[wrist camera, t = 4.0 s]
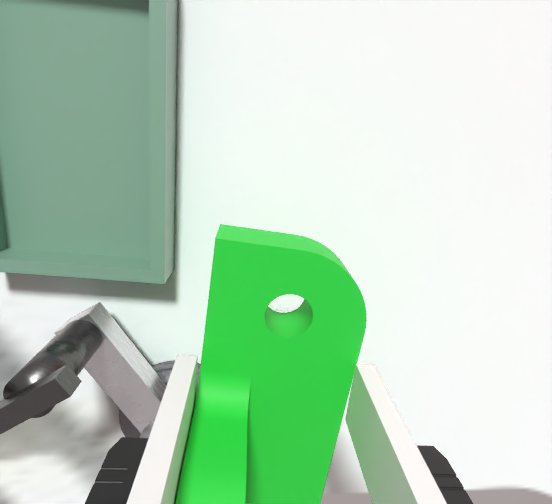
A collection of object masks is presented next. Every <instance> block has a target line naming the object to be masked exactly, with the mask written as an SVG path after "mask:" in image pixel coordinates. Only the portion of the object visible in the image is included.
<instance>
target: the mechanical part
mask: <svg viewBox="0 0 552 504" xmlns="http://www.w3.org/2000/svg"><path fill="white" fill-rule="evenodd" d="M285 294H295V295H299V296H301V297H303V298H304V302H303V303H302V305H301V306H300V307H299V308H298V309H296V310H294V311H292V312H289V313H279V312H276V311H273V310H272V309H270V308H269V307H268V305H269V303H270V302H271V301H272V300H274V299H275V298H277V297H279V296H281V295H285ZM365 328H366V309H365V303H364V300H363V297H362V294H361V292H360V290H359V288H358V286H357V284H356V283H355V281H354V280H353V278H352V277H351V275H350V274H349V272H348V271H347V269H346V268H345V266H344V265H343V263H342V262H341V261H340V259H339V258H338V257H337V256H336V255H335V254H334V253H333V252H332V251H331V250H330V249H328V248H327V247H326V246H324V245H322V244H321V243H319V242H317V241H315V240H312V239H310V238H307V237H303V236H298V235H292V234H285V233H278V232H271V231H264V230H257V229H250V228H243V227H236V226H229V225H221V224H220V227H219V230H218V233H217V236H216V239H215V248H214V257H213V265H212V274H211V282H210V291H209V299H208V308H207V316H206V325H205V334H204V342H203V351H202V359H201V368H200V376H199V383H198V390H197V396H196V402H195V408H194V413H193V418H192V423H191V428H190V433H189V438H188V443H187V447H186V452H185V457H184V462H183V467H182V472H181V477H180V482H179V487H178V492H177V498H176V503H175V504H320V501H321V498H322V494H323V490H324V486H325V482H326V478H327V475H328V471H329V467H330V463H331V459H332V456H333V452H334V448H335V444H336V440H337V436H338V433H339V429H340V425H341V421H342V417H343V414H344V410H345V406H346V402H347V398H348V394H349V391H350V387H351V383H352V379H353V375H354V371H355V366H356V364H357V360H358V356H359V352H360V349H361V345H362V341H363V337H364V333H365Z"/></svg>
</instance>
